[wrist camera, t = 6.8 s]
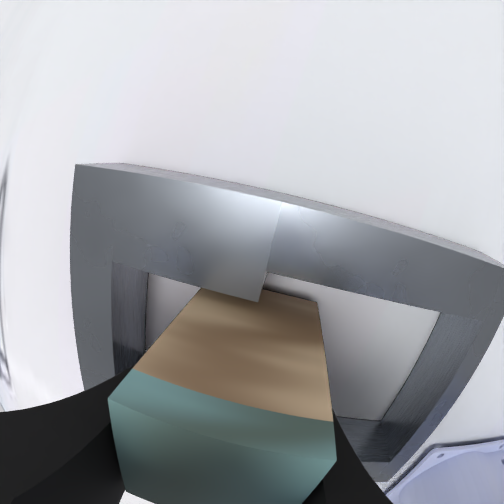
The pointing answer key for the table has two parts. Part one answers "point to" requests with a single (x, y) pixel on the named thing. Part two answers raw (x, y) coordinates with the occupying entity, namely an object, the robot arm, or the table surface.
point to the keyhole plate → (278, 262)
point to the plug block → (228, 405)
